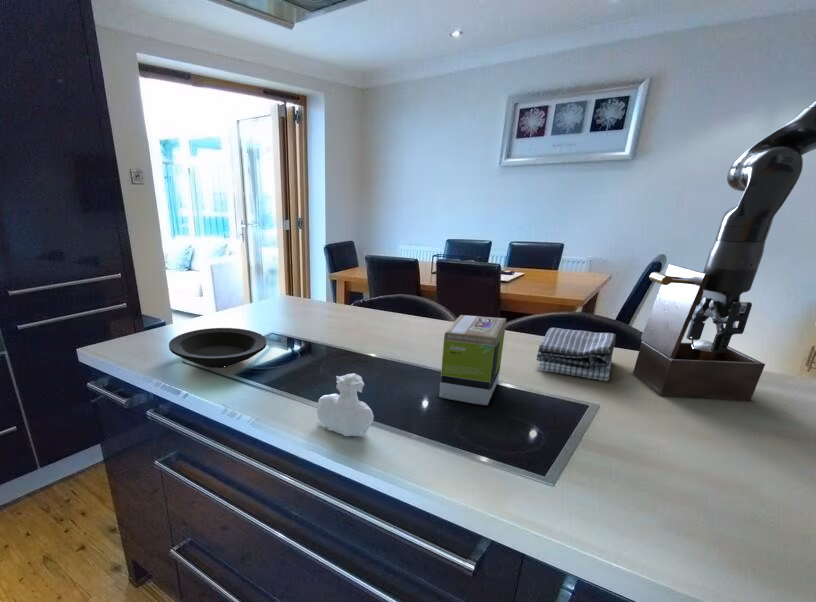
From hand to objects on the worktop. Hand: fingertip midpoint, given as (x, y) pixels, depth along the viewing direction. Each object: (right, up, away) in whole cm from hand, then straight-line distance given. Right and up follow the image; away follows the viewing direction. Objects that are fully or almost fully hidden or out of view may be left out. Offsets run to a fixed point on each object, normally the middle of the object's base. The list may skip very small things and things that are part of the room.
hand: (704, 345), depth 90 cm
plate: (-105, -2, +27) cm, 109 cm away
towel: (-17, -4, +17) cm, 24 cm away
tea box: (-46, -9, +6) cm, 48 cm away
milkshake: (0, -8, +3) cm, 9 cm away
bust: (-75, -16, -9) cm, 77 cm away
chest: (0, -8, +4) cm, 9 cm away
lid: (-7, +7, -1) cm, 10 cm away
